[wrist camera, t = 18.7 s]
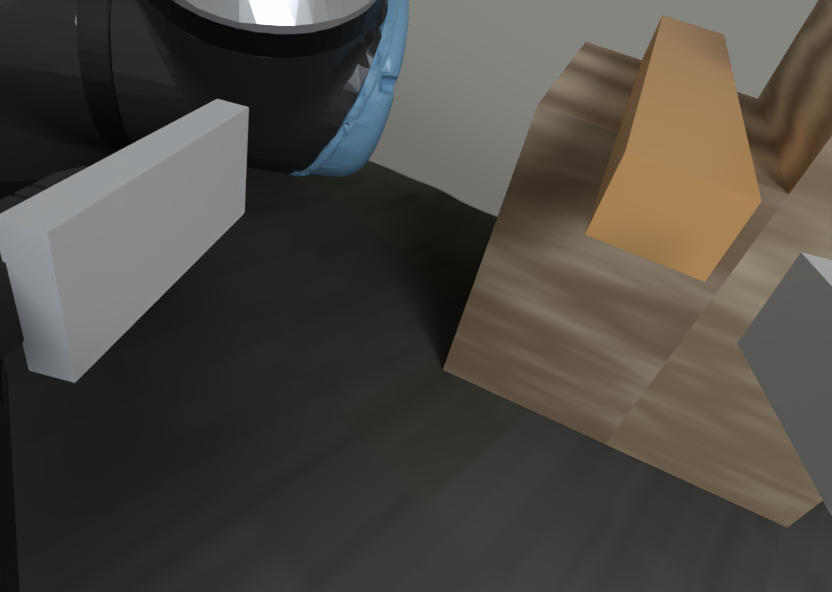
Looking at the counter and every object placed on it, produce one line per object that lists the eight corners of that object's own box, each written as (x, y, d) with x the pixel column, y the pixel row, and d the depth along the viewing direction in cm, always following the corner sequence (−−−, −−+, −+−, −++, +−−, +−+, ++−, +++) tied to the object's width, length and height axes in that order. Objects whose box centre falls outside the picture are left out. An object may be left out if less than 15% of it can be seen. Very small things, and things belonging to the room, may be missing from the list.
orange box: (640, 62, 38) (662, 15, 36) (699, 81, 37) (723, 34, 35) (584, 234, 18) (625, 151, 16) (705, 281, 18) (761, 201, 16)
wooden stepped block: (501, 259, 51) (658, -145, 32) (765, 368, 47) (1121, -22, 28) (438, 377, 39) (635, -174, 20) (791, 540, 35) (1467, 42, 16)
